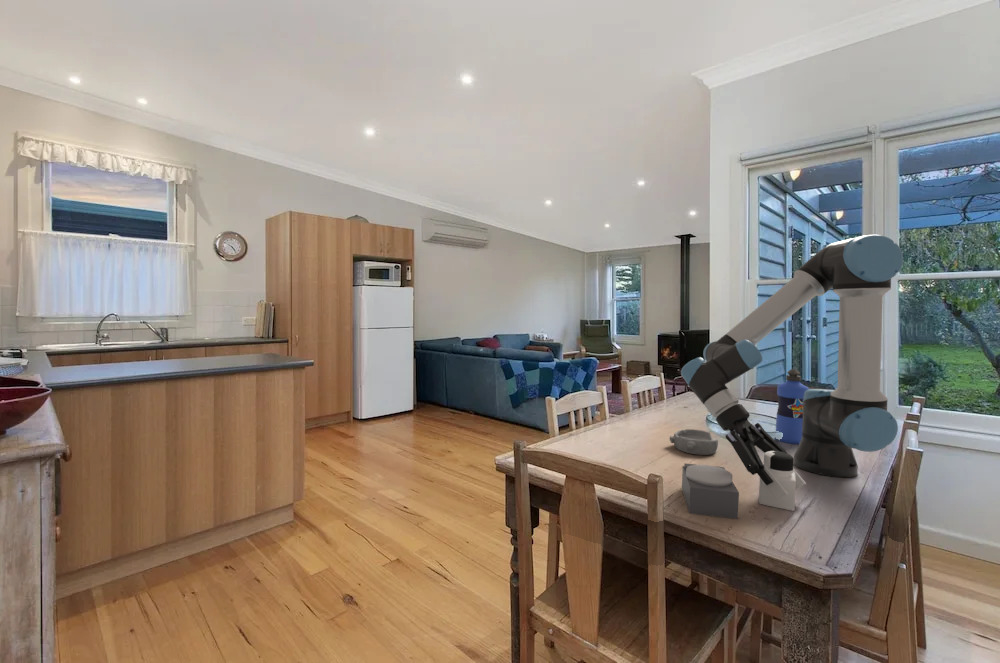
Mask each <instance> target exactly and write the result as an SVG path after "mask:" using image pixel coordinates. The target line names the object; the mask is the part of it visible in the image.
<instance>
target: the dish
mask: <svg viewBox="0 0 1000 663" xmlns="http://www.w3.org/2000/svg"><path fill="white" fill-rule="evenodd" d="M669 442H670V443H671V444H673V445H674V448H676V449H677V450H678V451H680V452H683V453H688V454H693V455H698V456H708V455H713V454H715V453H716V452H717V450H718V445H719V440H718V439H717V438H716V439H713V436H712V434H711V432H709V431H705V430H702V429H701V430H700V429H692V428H686V429H680V430H677V431H676V432H674V433H673V436H672V435H670V436H669Z"/></svg>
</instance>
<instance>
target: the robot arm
mask: <svg viewBox="0 0 1000 663" xmlns="http://www.w3.org/2000/svg"><path fill="white" fill-rule="evenodd" d="M903 264H904V255H903V251H902V249H901V247H900V246H899V245H898V244H897V242H895V241H894V240H893V239H891V238H890V237H888V236H885V235H881V234H868V235H866V234H864V235H858V236H855V237H853V238H848V239H844V240H839V241H836V242H832V243H830V244H828V245H826V246H825V247H823V248H821V249H820V250H819V251H818V252H817V253H815V254H813V256H812V257H811V258H809V259H808V260H807V261H806V262H805V263H804V264H802V265H801V266H800V267H799V268H798V269H796V270H795V271H794V273H793V278H791V279H790V280H789V281H788V282H787V283H786V284H784V285H783V286H782V287H781V288H779V289H778V290H777V291H775V292H774V294H772V295H771V296H770V297H768V298H767V299H766V300H765V301H764V302H762V303H761V304H760V305H759V306H758V307H756V308H755V309H754V310H753V311H752V312H750V313H749V314H748V315H747V316H746V317H745V318H743V319H742V320H741V321H740V322H738V323H737V324H736V325H735V326H733V327H732V328H731V329H729V331H728V332H726V333H725V334H724V335H723V336H721V337H720V338H719V339H718V340H715V341H712V342H710V343H707V344H706V345H705V347H704V349H703V352H702V353H703V355H702V356H703V357H701V356H699V357H696V358H694V359H692V360H689V361H688V362H687V363H686V364H684V365H683V367H682V368H681V370H680V375H681V377H682V378H683V380H684V382H686V384H687V386H688V387H689V388H690V389H691V391H692V392H693V393H694V394H695V396H696V397H697V399H699V401H700V402H701V403H702V404H703V406H704V407H705V408H706V410H707V412H709V414H711V416H712V417H714V418H715V422H717V424H718V426H719V427H720V428H721V429H722V430H723V431H725V432H727V431H729V433H727V434H725V438H726V440H727V441H728V443H729V444H730V445H731V446H732V448H733V449H734V451H735V453H736V454H737V456H738V458H739V459H740V461H741V462H742V464H743V466H744V467H745V470H746V471H747V472H748V473H750V474H751V475H753V476H755V475H756V474H757V475H758V477H759V479H760V478H761V479H762V480H763V482H764V483H765V484H766V486H767V487H768V488H769V489H770V491H771V492H772V493H773V495H774V496H775V497H776V498H777V499H779V498H781V497H783V496H784V495H786V494H788V492H787V491H786V490H785V489H784V487H783V486H782V485H781V484H780V482H779V481H778V480H777V479H776V477H775V476H774V475H773V474H772V472H771V471H770V470H769V469H768V467H767V468H765V469H764V462H762V459H761V456H760V455H759V452H758V451H757V449H756V447H757V448H758V449H760V450H761V452H763V453H765V452H768V451H780V452H784V453H787V454H789V453H788V452H787V451H786V450H785V449H784V448H783V447H782V446H781V445H780V444H779V443H778V442H777V441H776V439H774V438H773V437H772V436H771V435H770V434H769V433H768V432H767V431H766V430H765V429H764V428H763V426H762V425H761V423H759V422H756V423H755V424H753V423H751V421H749V420H748V419H749V417H750V416H751V415H750V413H749V412H748V410H747V409H746V408H745V406H743V404H741V403H739V399H738V398H737V397H736V396H735V395H734V394H733V392H732V391H731V390H730V389H729V388H728V387H727V384H728V383H730V382H733V380H736V379H737V378H739V377H740V376H742V375H743V374H746V373H747V372H749V371H751V370H753V369H755V367H757V366H759V365H760V364H761V363H762V362H763V356H762V352H761V351H760V350H759V348H758V347H757V346H756V344H758V343H760V341H762V340H763V339H764V338H766V337H767V336H768V335H769V334H771V332H773V331H775V329H776V328H777V327H779V326H780V325H782V324H783V323H784V322H785V321H786V320H788V319H789V318H790V317H791V316H792V315H794V314H796V313H797V311H799V310H800V309H801V308H803V306H805V305H806V304H807V303H808V302H810V301H811V300H812V299H813V298H815V297H816V296H817V297H818V296H819V297H821V296H823V295H825V294H826V293H827V292H828V291H830V290H832V292H833V293H835V294H836V295H837V296H838V298H839V303H838V304H839V307H838V308H839V310H838V311H839V312H838V314H839V316H838V318H839V319H838V347H837V348H838V349H837V350H838V355H837V357H838V358H837V361H838V362H837V387H836V388H835V389H823V388H821V389H820V388H818V389H817V388H815V389H814V388H809V389H808V390H806V391H805V393H804V399H803V422H802V439H801V441H800V443H799V444H797V445H798V446H797V448H796V450H795V452H794V454H793V458H794V463H793V465H795V466H796V467H798V468H800V469H802V470H804V471H807V472H810V473H814V474H817V475H822V476H829V477H836V478H850V477H851V478H852V477H856V476H857V475H858V471H859V468H858V467H859V466H858V463H857V460H856V456H855V454H854V450H858V451H860V452H866V453H869V452H870V453H871V452H878V451H881V450H883V449H885V448H886V447H887V446H889V445H890V444H891V445H892V443H893V442H894V440H895V439H896V438H897V434H898V433H899V432H898V430H899V426H898V422H897V419H896V418H895V417H894V416H893V415H892V413H891V412H889V411H888V396H886V395H885V394H884V393H883V392H881V364H882V362H881V358H882V329H883V328H882V327H883V326H882V325H883V324H882V323H883V298H884V297H883V296H885V295H886V294H887V293H888V292H889V291H890V290H891V289H892V279H893V278H894V277H896V275H897V274H898V273H899V272H900V271H901V269H902V267H903ZM755 446H756V447H755ZM853 449H854V450H853ZM793 472H795V474H796V489H795V490H797V489H800V488H801V487H803V486H805V485H807V483H806V481H805V480H804V479H803V478H802V476H801V475H800V474H799V473H798V472H797V470H796V469H795V468H794V467H793Z"/></svg>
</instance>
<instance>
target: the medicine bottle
mask: <svg viewBox="0 0 1000 663" xmlns="http://www.w3.org/2000/svg"><path fill="white" fill-rule="evenodd" d="M763 453H764V452H763ZM787 453H788V452H787ZM787 453H784V452H780V451H768V452H765V453H764V454H763V465H764V469H765V468H767V467H768V469H769V470H770V471H771V472H772V474H773V475H774V476H775V477H776V479H777V480H778V481H779V482H780V484H781V485H782V486H783V487H784V489H785V490H786V491H787V492H788V494H786V495H784V496H783V497H781V498H779V499H777V498H776V497H775V496H774V495H773V493H772V492H771V491H770V489H769V488H768V487H767V486H766V484H765V483H764V482H763V480H762V479H761V478H760V477H759V486H758V487H759V488H758V490H759V491H758V493H759V494H758V504H759V505H762V504H763V506H768V507H772V508H778V509H780V510H781V509H782V510H787V511H792V512H794V511H795V509H796V508H795V507H796V490H797V489H796V474H795V472H793V468H794V456H792V455H791V454H789V453H788V454H787Z"/></svg>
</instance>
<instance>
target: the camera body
mask: <svg viewBox="0 0 1000 663" xmlns="http://www.w3.org/2000/svg"><path fill="white" fill-rule="evenodd" d="M681 469H682V470H681V471H682V472H681V477H682V478H681V491H682V494H683V497H684V501H685V504H686V506H687V507H686V508H687V510H688V514H694V515H700V516H709V517H719V518H726V519H733V520H734V519H736V520H738V519H739V504H740V503H739V502H740V501H739V499H740V492H739V490H738V488H737V487H736V485H735V484H734V482H733V478H734V477H733V474H732V472H730V471H729V470H727V469H726V467H724V466H715V465H708V464H693V463H684V465H683V466H682V468H681Z"/></svg>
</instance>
